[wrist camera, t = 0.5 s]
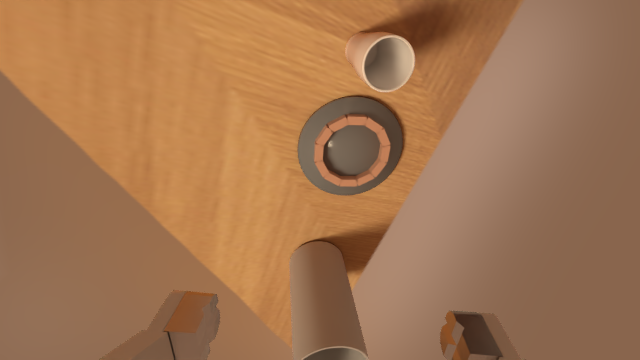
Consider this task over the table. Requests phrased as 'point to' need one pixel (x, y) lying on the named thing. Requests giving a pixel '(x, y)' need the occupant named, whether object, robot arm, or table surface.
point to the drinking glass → (381, 59)
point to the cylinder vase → (323, 306)
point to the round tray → (350, 145)
